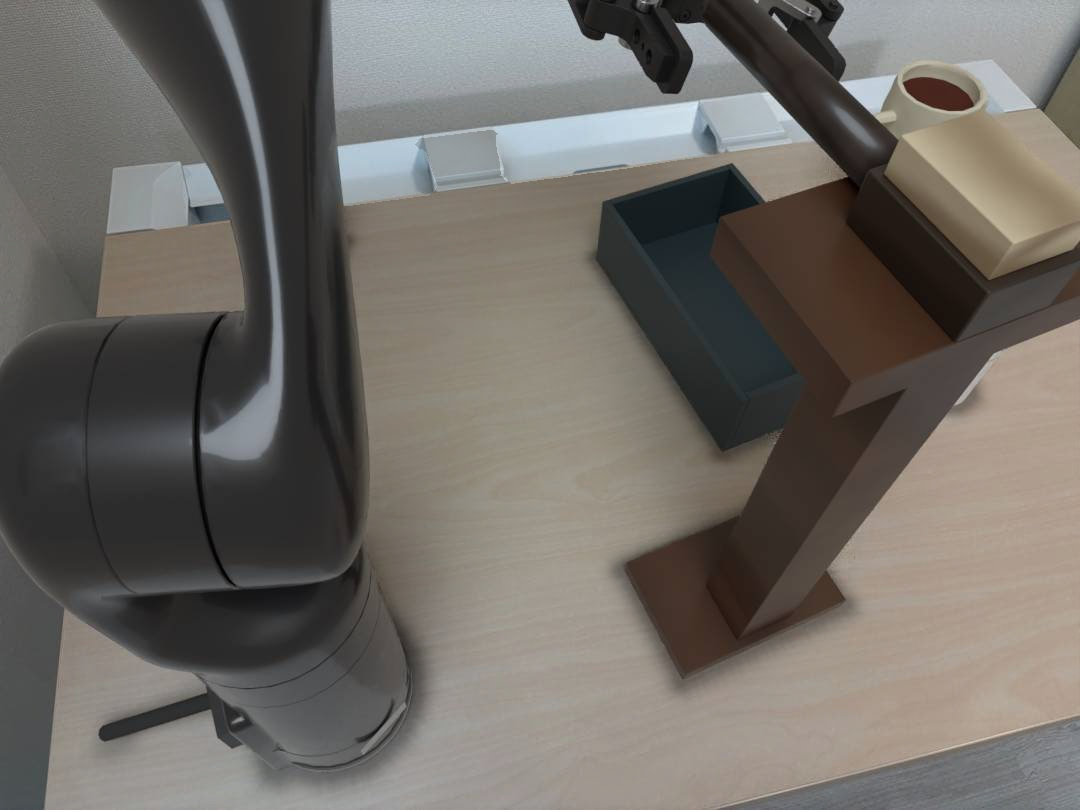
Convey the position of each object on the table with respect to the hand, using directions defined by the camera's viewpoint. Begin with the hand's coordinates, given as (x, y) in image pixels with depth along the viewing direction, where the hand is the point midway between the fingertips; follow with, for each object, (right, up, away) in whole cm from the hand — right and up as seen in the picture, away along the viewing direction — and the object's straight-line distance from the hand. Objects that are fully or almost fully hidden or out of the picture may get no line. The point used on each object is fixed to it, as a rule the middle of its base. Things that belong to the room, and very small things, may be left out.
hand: (758, 81), depth 39 cm
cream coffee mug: (+21, +3, +38) cm, 43 cm away
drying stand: (+2, -28, +16) cm, 32 cm away
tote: (+4, -9, +29) cm, 31 cm away
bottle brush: (+1, -5, -7) cm, 9 cm away
